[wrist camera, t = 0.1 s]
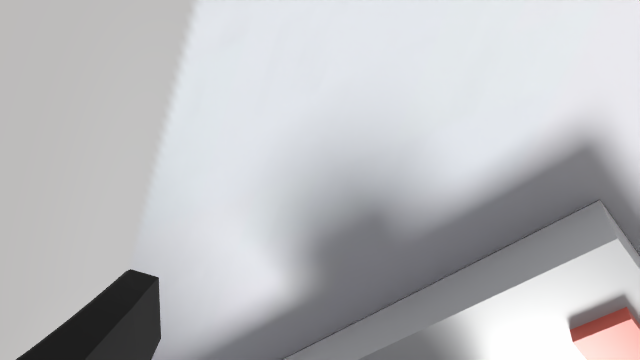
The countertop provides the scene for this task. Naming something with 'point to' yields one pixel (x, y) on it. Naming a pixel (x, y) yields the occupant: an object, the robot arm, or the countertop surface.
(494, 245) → the countertop surface
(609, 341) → the power strip
